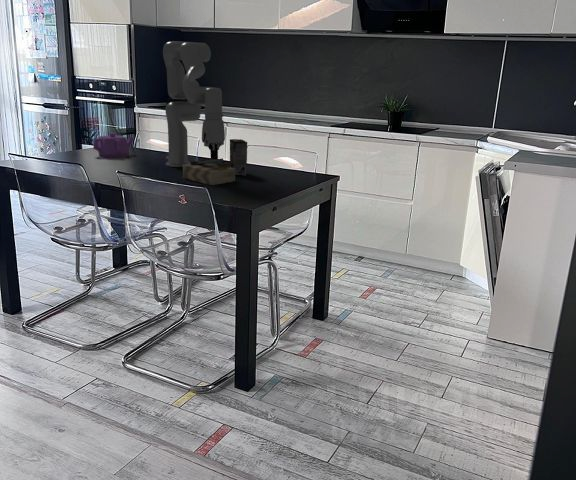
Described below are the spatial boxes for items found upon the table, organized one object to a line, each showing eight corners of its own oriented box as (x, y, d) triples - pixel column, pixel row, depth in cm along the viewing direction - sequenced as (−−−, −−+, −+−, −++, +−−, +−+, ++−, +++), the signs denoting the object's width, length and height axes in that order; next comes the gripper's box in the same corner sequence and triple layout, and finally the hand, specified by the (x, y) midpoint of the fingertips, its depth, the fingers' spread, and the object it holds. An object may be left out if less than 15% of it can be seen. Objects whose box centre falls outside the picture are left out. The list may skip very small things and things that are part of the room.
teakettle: (92, 157, 299) (90, 134, 295) (106, 152, 315) (104, 130, 311) (122, 159, 297) (121, 135, 293) (135, 154, 313) (133, 132, 309)
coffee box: (229, 172, 273) (229, 139, 268) (241, 171, 275) (242, 138, 270) (234, 175, 265) (234, 141, 260) (247, 175, 267) (247, 141, 262)
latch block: (182, 177, 256) (182, 159, 253) (206, 174, 266) (206, 156, 263) (211, 185, 243) (211, 166, 241) (235, 181, 253) (235, 162, 251)
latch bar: (194, 164, 256) (193, 162, 256) (200, 163, 259) (200, 161, 259) (216, 161, 246) (216, 159, 245) (223, 160, 248) (223, 158, 248)
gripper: (220, 115, 252) (221, 156, 257) (194, 117, 241) (195, 159, 246) (232, 116, 247) (232, 158, 252) (205, 118, 236) (206, 161, 241)
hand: (214, 158), depth 249 cm, fingers closed
